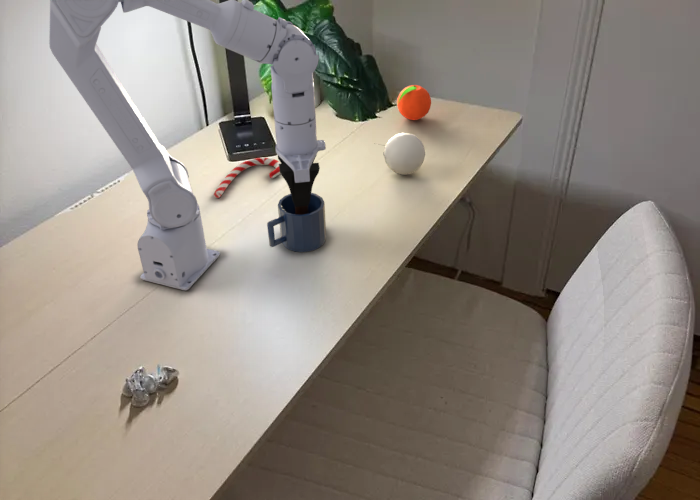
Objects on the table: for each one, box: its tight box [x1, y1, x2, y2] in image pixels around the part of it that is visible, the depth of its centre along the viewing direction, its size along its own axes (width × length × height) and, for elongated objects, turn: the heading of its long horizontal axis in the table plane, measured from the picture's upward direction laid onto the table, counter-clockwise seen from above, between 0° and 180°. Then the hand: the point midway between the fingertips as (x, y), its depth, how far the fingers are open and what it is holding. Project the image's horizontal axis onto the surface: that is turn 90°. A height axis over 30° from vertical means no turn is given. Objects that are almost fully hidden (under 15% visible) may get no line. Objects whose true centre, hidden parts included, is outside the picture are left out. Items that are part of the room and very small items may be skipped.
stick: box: [295, 206, 309, 215], centre depth 100 cm, size 2×2×7 cm
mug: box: [266, 192, 327, 253], centre depth 103 cm, size 10×7×6 cm
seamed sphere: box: [373, 132, 426, 175], centre depth 120 cm, size 10×7×7 cm
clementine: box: [396, 84, 432, 121], centre depth 137 cm, size 8×7×7 cm
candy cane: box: [213, 157, 281, 199], centre depth 120 cm, size 8×1×15 cm
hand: (301, 200), depth 101 cm, fingers closed on stick, 2 cm apart
